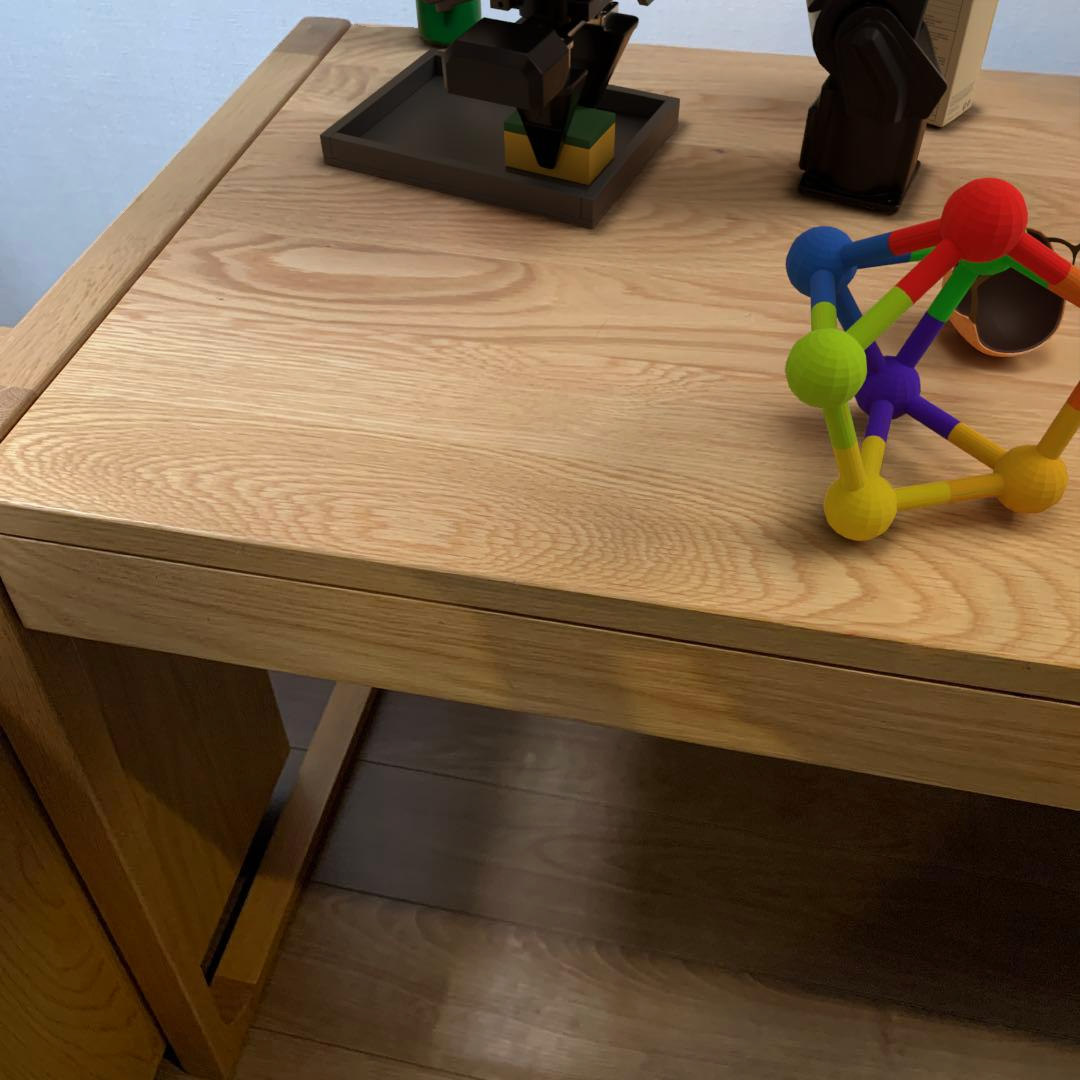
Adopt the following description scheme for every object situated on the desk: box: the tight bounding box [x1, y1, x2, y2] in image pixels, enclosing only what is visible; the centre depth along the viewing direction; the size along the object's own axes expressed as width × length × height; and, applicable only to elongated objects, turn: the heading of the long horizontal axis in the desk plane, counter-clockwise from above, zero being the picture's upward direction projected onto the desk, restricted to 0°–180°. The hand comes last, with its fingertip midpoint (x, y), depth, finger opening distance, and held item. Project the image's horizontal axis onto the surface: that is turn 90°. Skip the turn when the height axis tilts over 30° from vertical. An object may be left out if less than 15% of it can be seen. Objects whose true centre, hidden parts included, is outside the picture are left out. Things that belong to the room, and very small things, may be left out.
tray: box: [319, 48, 681, 230], centre depth 72 cm, size 20×15×2 cm
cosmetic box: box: [923, 0, 1000, 128], centre depth 71 cm, size 6×4×12 cm
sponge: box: [504, 105, 615, 185], centre depth 69 cm, size 4×6×3 cm, turn 64°
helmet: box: [941, 226, 1080, 358], centre depth 54 cm, size 6×7×8 cm
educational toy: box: [784, 177, 1080, 542], centre depth 45 cm, size 16×13×15 cm
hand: (561, 151), depth 69 cm, fingers closed on sponge, 4 cm apart
